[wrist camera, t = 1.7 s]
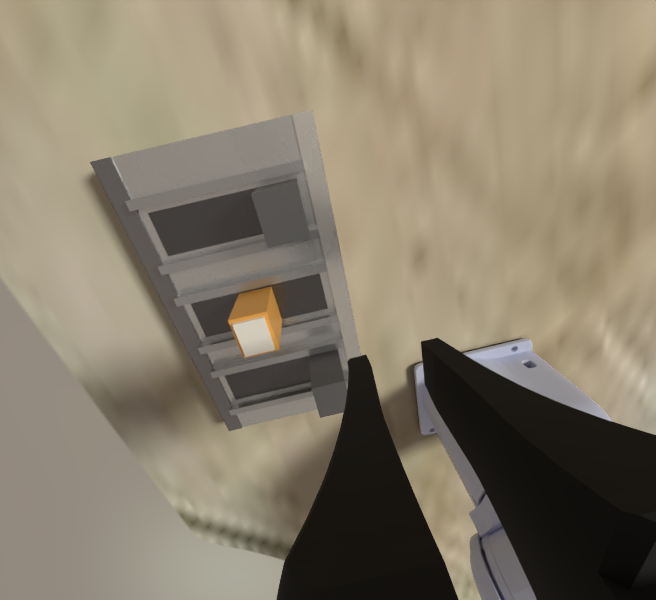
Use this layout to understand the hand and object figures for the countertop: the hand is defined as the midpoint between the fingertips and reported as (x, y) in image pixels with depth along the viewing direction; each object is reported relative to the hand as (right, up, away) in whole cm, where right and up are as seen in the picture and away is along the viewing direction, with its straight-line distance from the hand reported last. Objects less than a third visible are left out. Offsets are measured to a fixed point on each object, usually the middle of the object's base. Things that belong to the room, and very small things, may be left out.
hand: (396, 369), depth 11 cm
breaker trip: (-7, +2, +7) cm, 10 cm away
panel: (-7, +3, +9) cm, 12 cm away
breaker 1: (-5, +8, +5) cm, 10 cm away
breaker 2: (-3, -2, +10) cm, 10 cm away
